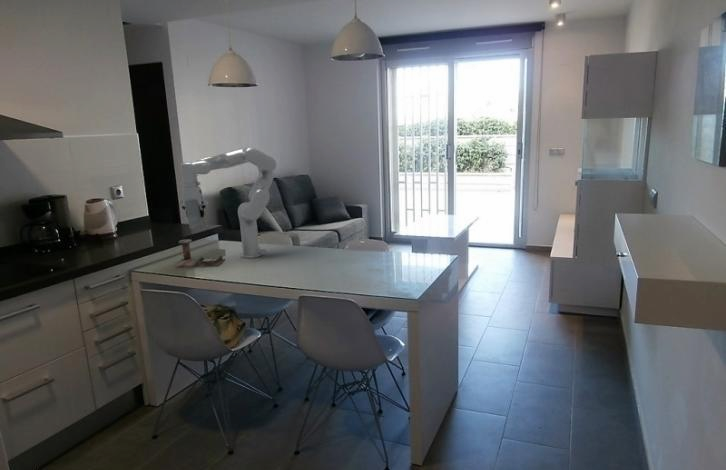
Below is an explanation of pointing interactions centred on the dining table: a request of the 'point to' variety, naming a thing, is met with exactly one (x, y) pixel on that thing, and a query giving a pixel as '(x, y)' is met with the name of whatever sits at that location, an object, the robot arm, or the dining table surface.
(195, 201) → the skincare box
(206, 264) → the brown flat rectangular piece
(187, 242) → the bobbin
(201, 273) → the dining table surface
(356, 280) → the dining table surface
